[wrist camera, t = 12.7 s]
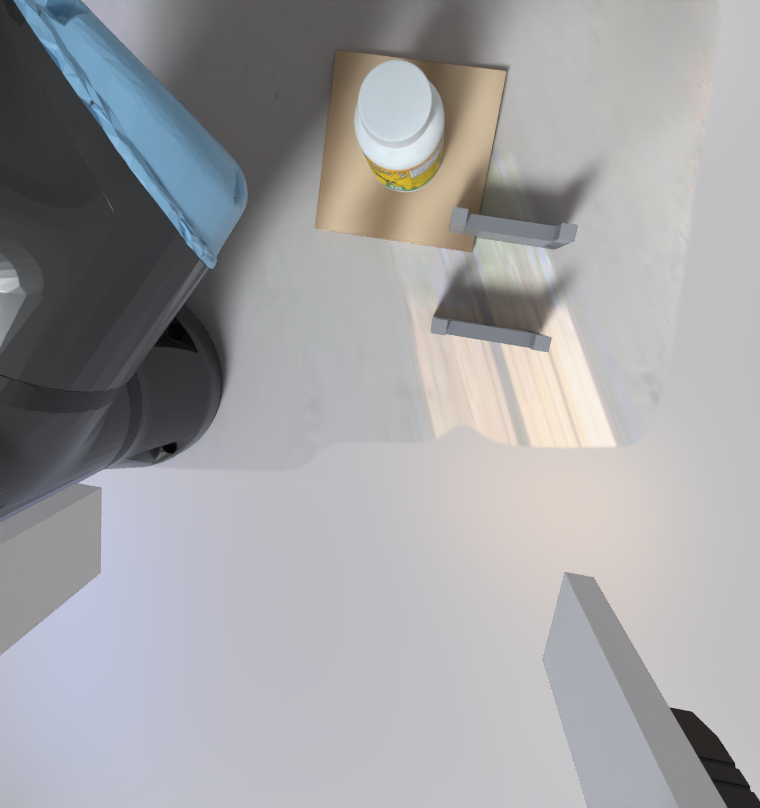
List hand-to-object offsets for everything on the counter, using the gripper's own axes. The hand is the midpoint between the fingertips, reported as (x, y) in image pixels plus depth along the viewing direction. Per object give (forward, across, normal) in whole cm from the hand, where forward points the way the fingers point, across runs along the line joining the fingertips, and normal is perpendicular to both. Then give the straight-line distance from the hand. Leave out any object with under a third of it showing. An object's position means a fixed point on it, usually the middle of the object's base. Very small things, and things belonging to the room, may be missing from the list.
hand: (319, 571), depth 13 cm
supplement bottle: (+26, -2, +18) cm, 32 cm away
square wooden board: (+27, -2, +18) cm, 32 cm away
